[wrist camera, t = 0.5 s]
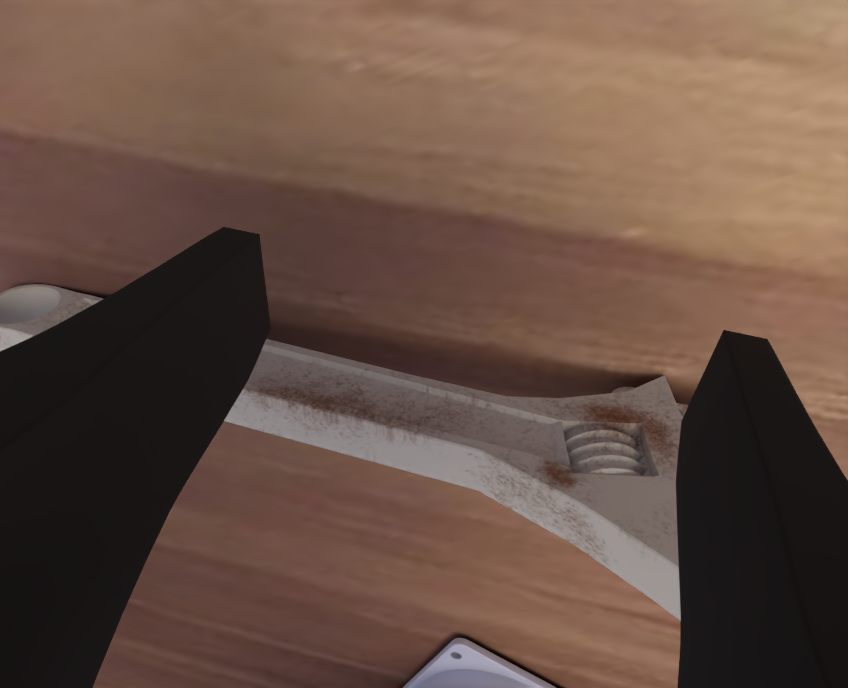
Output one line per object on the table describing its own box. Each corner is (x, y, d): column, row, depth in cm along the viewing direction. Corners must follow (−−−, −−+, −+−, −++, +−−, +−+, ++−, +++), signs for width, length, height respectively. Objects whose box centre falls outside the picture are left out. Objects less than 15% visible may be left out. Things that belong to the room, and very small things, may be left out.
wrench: (70, 245, 31) (875, 416, 22) (82, 284, 32) (854, 461, 23) (-105, 351, 25) (911, 647, 16) (-83, 394, 26) (881, 694, 17)
